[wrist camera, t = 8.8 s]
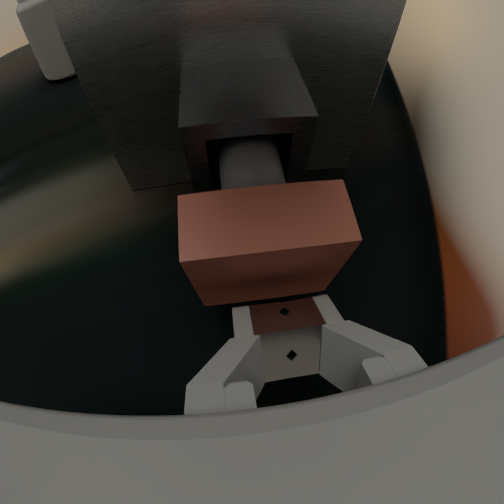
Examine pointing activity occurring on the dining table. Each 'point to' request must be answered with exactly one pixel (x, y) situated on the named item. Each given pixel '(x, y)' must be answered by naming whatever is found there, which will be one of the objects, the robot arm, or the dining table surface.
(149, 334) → the dining table surface
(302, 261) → the brown block
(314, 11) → the box
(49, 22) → the beverage can
